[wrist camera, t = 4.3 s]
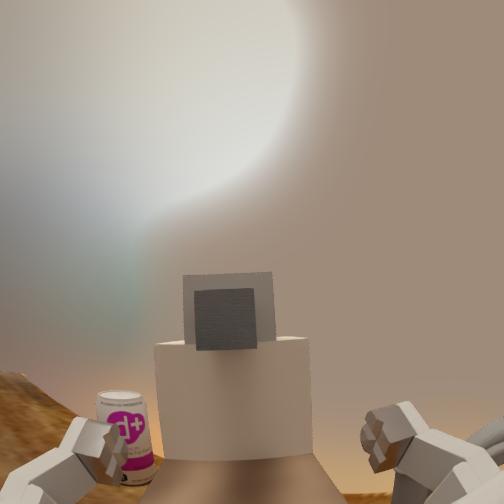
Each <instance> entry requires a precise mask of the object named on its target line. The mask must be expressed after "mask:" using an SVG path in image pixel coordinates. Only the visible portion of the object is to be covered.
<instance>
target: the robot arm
mask: <svg viewBox="0 0 504 504" xmlns="http://www.w3.org/2000/svg"><path fill="white" fill-rule="evenodd" d="M365 420H366V422H367V423H366V424H365V425H364V426H363V427H362V430H361V444H362V447H363V449H364V451H365V452H367V453H369V454H370V457H369V463H370V465H371V467H372V469H373V471H374V473H379V472H383V471H386V470H389V469H392V468H395V467H397V469H398V470H400V471H401V472H403V473H404V474H406V475H407V476H409V477H411V478H412V479H414V480H415V481H417V482H418V483H420V484H422V485H423V486H425V487H427V488H428V489H430V490H431V491H433V493H432V494H431V495H430V496H429V497H428V498H427V499H426V500H425V502H424V504H504V469H503V470H502V471H501V470H500V469H499V467H498V466H497V465H496V463H495V462H494V461H493V459H492V458H491V457H490V455H489V454H488V453H487V452H486V450H485V449H484V448H482V447H479V446H476V445H474V444H471V443H468V442H466V441H463V440H461V439H458V438H455V437H453V436H450V435H448V434H446V433H443V432H441V431H438V430H436V429H431V430H430V428H429V427H428V426H427V424H426V423H425V421H424V420H423V419H422V417H421V416H420V415H419V413H418V412H417V411H416V409H415V408H414V406H413V405H412V404H411V402H409V401H405V402H401V403H398V404H395V405H390V406H387V407H383V408H379V409H376V410H372V411H369V412H368V413H367V414H366V417H365ZM119 434H120V429H119V427H118V425H117V424H112V423H107V422H102V421H96V420H92V419H86V418H82V417H76V418H74V419H73V421H72V423H71V425H70V427H69V429H68V431H67V432H66V434H65V436H64V438H63V440H62V442H61V444H60V446H59V448H53V449H52V450H50V451H48V452H47V453H45V454H43V455H41V456H40V457H38V458H36V459H34V460H32V461H31V462H29V463H27V464H25V465H23V466H22V467H20V468H18V469H16V470H14V471H12V472H11V473H10V474H9V476H8V478H7V480H6V482H5V484H4V486H3V488H2V490H1V492H0V504H75V503H77V502H78V501H79V500H80V499H81V498H82V497H83V496H85V495H86V494H87V493H88V492H89V491H90V490H91V489H92V488H94V487H95V486H96V485H97V483H101V484H105V485H111V486H116V487H120V483H121V479H122V476H123V471H122V469H121V466H123V465H124V464H125V463H126V461H127V457H128V448H127V443H126V441H125V439H124V438H122V437H121V436H120V435H119Z"/></svg>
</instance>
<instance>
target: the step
mask: <svg viewBox="0 0 504 504" xmlns="http://www.w3.org/2000/svg"><path fill="white" fill-rule="evenodd" d="M138 504H348V503H347V501H346V500H345V499H344V497H343V496H342V495H341V493H340V492H339V490H338V489H337V488H336V486H335V485H334V483H333V482H332V480H331V479H330V478H329V476H328V475H327V473H326V472H325V471H324V469H323V468H322V466H321V465H320V464H319V462H318V460H317V459H316V457H315V456H314V454H313V453H309V454H302V455H295V456H287V457H278V458H268V459H255V460H235V461H194V460H174V459H165V460H164V461H163V463H162V465H161V466H160V468H159V470H158V471H157V473H156V475H155V476H154V478H153V480H152V481H151V483H150V484H149V486H148V488H147V489H146V491H145V493H144V494H143V496H142V498H141V499H140V501H139V502H138Z"/></svg>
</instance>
